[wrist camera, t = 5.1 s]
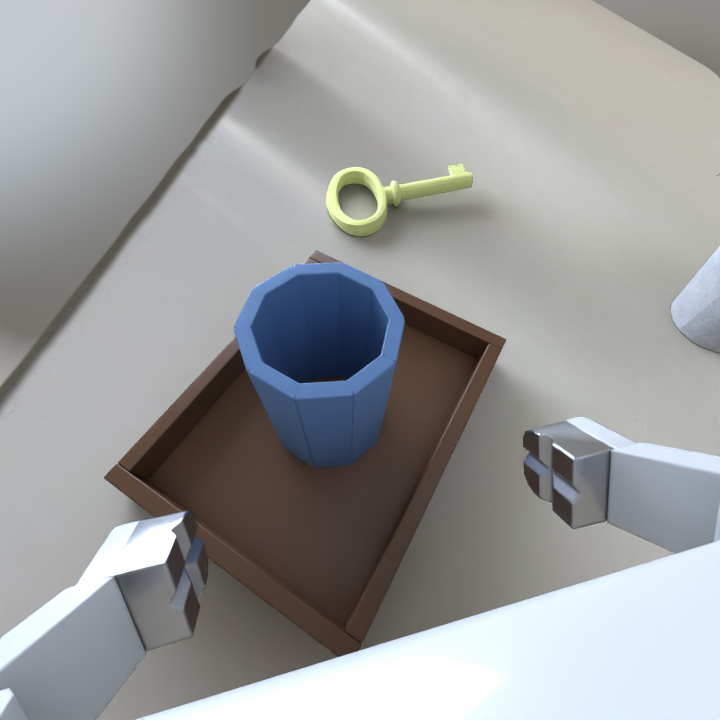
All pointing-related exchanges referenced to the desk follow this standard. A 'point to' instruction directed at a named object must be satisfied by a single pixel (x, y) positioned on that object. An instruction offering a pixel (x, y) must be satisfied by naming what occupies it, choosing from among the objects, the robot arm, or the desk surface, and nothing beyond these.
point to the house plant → (701, 306)
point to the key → (387, 195)
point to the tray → (314, 476)
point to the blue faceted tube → (322, 358)
